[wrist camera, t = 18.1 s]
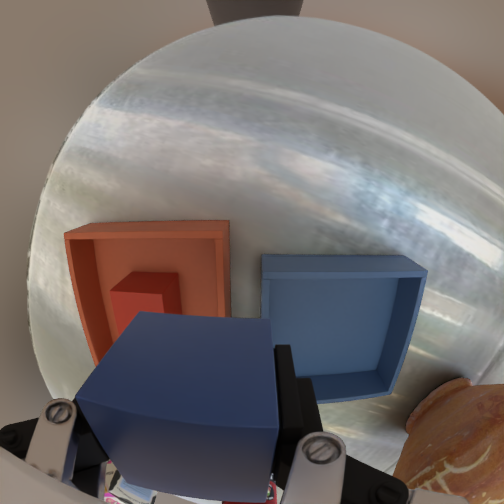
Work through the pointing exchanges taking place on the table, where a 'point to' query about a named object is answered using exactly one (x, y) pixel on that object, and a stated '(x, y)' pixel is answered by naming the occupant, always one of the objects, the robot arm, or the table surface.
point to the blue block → (188, 405)
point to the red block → (145, 296)
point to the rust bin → (147, 268)
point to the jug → (457, 443)
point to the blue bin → (343, 318)
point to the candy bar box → (124, 489)
